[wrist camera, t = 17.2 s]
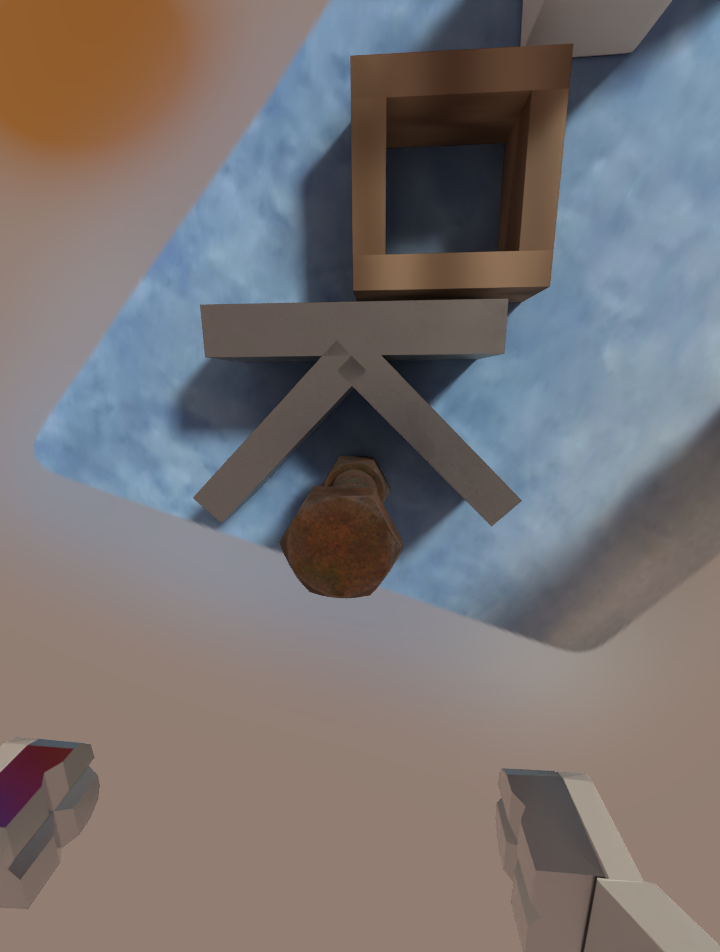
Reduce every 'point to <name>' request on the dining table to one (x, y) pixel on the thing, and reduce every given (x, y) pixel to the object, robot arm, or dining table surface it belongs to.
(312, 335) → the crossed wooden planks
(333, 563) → the bolt
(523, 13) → the milk carton
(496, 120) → the bore block
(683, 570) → the dining table surface
